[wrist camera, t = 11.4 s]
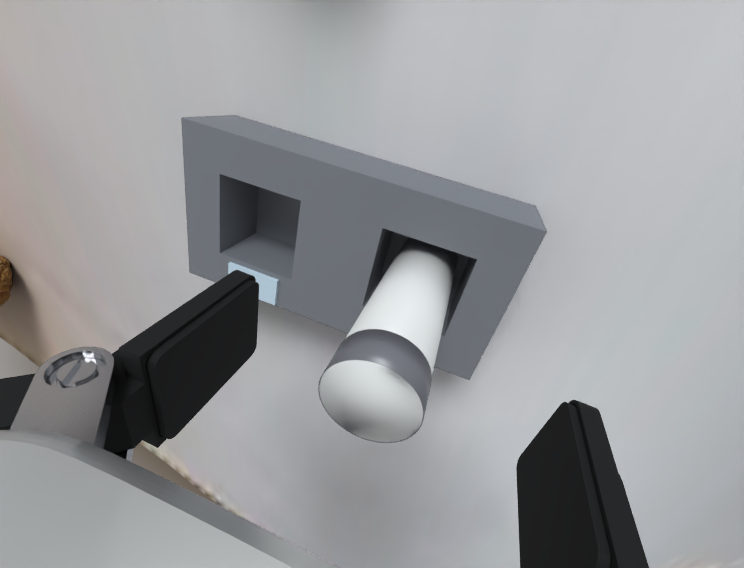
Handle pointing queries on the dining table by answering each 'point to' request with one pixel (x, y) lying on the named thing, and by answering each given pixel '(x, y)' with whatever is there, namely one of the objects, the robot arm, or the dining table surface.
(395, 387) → the plug
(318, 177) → the socket block
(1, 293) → the stuffed squirrel
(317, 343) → the dining table surface
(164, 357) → the robot arm
